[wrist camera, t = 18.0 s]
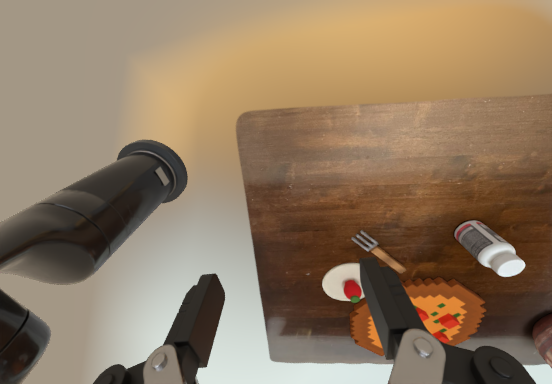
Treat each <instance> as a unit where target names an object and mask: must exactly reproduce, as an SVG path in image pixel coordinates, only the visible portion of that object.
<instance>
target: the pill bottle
mask: <svg viewBox="0 0 552 384" xmlns="http://www.w3.org/2000/svg"><path fill="white" fill-rule="evenodd" d="M454 236H455V238H456V239H457V240H458V241H459V242H460V243H461V244H462V245H463V246H464V247H465V248H466V249H467V250H468V251H469V252H470V253H471V254H472V255H473V256H474V257H475V258H476V259H477V260H478V261H479V262H480V263H481V264H482V265H484V266H486V267H490V268H492V269H493V270H494V271H495V272H496V273H497V274H498V275H500V276H503V277H510V276H513V275H516V274H518V273H520V272H521V271H522V270H523V269H524V267H525V262H524V261H523V260H522V259H520V258H519V257H518V256H517V255H515V254H516V252H515V249H514V247H513V246H512V245H510V244H509V243H508V242H506V241H505V240H504V239H503V238H501V237H500V236H499V235H497V234H496V233H495V232H493V231H492V230H491V229H489V228H488V227H487V226H486V225H484V224H483V223H481V222H479V221H475V220H473V221H468V222H465V223H463V224H461V225H460V226H459V227H458V228H457V229H456V230H455V233H454Z"/></svg>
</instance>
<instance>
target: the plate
mask: <svg viewBox="0 0 552 384" xmlns="http://www.w3.org/2000/svg"><path fill="white" fill-rule="evenodd" d="M348 280H354V281H355V282H356V283H357V284H358V285H359V286H360V287H361V282H360V264H359V263H346V264H341V265H338V266H336V267H334V268H332V269H331V270H329V271H328V272H327V273H326V274H325V276H324V278H323V281H322V286H323V289H324V291H325V292H326V294H327V295H329V296H330V297H332V298H334V299H337V300H342V301H351V300H350V299H348V298H347V297H346V296H345V294H344V286H345V282H346V281H348ZM361 290H362V287H361ZM364 297H365V296H364V293H363V290H362V295H361V297H360V299H361V298H364Z"/></svg>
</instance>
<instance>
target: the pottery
mask: <svg viewBox="0 0 552 384" xmlns="http://www.w3.org/2000/svg"><path fill="white" fill-rule="evenodd" d="M532 336H533V340H534V343H535V346H536V349H537V350H538V352H539V354H540V355H541V356H542V357H543V359H544V360H545V361H546V362H547V363H548V364H549V365H550V367H551V368H552V314H549V315H547V316H545V317H543V318H541V319H540V320H539V321H537V322H536V323H535V325H534V327H533V333H532Z"/></svg>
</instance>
